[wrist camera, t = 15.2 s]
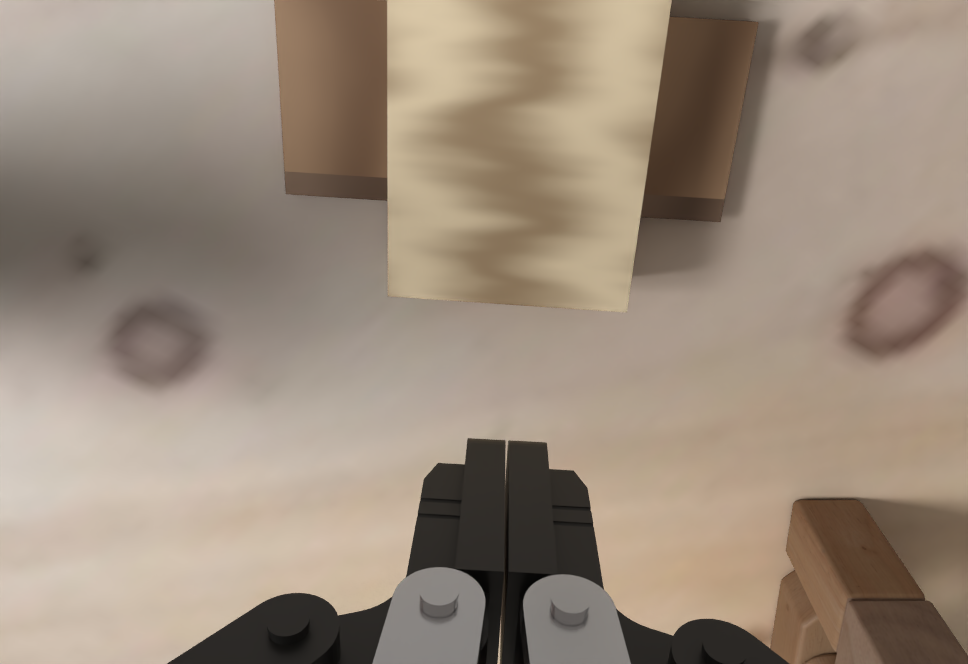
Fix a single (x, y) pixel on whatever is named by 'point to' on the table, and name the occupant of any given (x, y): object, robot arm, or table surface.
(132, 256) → the table surface
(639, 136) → the oak plank
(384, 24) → the floor panel
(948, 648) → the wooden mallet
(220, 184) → the table surface
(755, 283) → the table surface
